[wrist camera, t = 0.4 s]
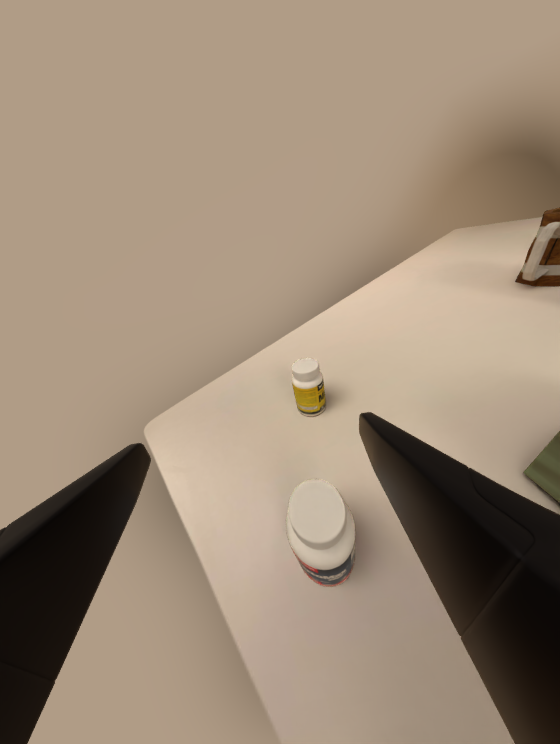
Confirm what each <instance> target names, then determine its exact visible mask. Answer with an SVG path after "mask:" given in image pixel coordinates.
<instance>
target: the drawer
mask: <svg viewBox="0 0 560 744" xmlns="http://www.w3.org/2000/svg"><path fill="white" fill-rule="evenodd" d="M523 473H524V474H525V475H527V476H528V477H529V478H530V479H531V480H533V481H534V482H535V483H536V484H537V485H539V486H540V487H541V488H542V489H544V490H545V491H546V492H547V493H548V494H550V495H551V496H552V497H553V498H554V499H556V500H557V501H558V502H559V503H560V431H559V432H558V434H557V435H556V436H555V437H554V438H553V439H552V440H551V442H550V443H549V444H548V445H547V446H546V447H545V448H544V450H543V451H542V452H541V453H540V454H539V455H538V456H537V458H536V459H535V460H534V461H533V462H532V463H531V464H530V466H529V467H528V468H527V469H526V470H525V471H524V472H523Z"/></svg>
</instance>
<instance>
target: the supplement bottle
mask: <svg viewBox="0 0 560 744" xmlns="http://www.w3.org/2000/svg"><path fill="white" fill-rule="evenodd" d="M292 374H293V377H292V385H293V389H294V394H295V398H296V403H297V408H298V410H299V412H300V413H301V414H303V415H305V416H316V415H319V414H321V413H322V412H323V411H324V410H325V407H326V400H325V392H324V382H323V375H322V373H321V372H320V367H319V363H318V361H317V360H316V359H313V358H303V359H299V360H297V361H295V362H294V363H293V364H292Z"/></svg>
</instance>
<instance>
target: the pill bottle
mask: <svg viewBox="0 0 560 744" xmlns="http://www.w3.org/2000/svg"><path fill="white" fill-rule="evenodd" d="M286 531H287V536H288V540H289V543H290V546H291V548H292V550H293V552H294V554H295V556H296V557H297V559H298V561H299V563H300V565H301V567H302V568H303V570H304V572H305V573H306V574H307V576H308V577H309V578H310V579H311V580H313V581H314V582H316V583H317V584H319V585H322V586H326V587H333V586H337V585H339V584H341V583H343V582H344V581H345V580H346V579H347V578H348V576H349V575H350V573H351V571H352V569H353V565H354V560H355V524H354V520H353V516H352V514H351V511H350V509H349V507H348V506H347V504H346V503H345V502H344V500H343V498H342V496H341V494H340V493H339V491H338V490H337V489H336V488H335V487H334V486H333V485H332V484H330V483H329V482H327V481H324V480H321V479H309V480H306V481H304V482H302V483H300V484H299V485H298V486H297V487H296V488H295V489H294V491H293V492H292V494H291V496H290V499H289V504H288V513H287V518H286Z"/></svg>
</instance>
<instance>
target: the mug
mask: <svg viewBox="0 0 560 744" xmlns="http://www.w3.org/2000/svg"><path fill="white" fill-rule="evenodd" d="M515 282H518V283H523V284H527V285H531V286H560V208H556V209H552V210H548V211H545V212H544V214H543V217H542V221H541V225H540V228H539V230H538V232H537V235H536V237H535V239H534V241H533V243H532V244H531V246H530V248H529V250H528V254H527V257H526V260H525V263H524V266H523V268H522V270H521V272H520V273H519V275H518V277H517V279H516V281H515Z"/></svg>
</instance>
